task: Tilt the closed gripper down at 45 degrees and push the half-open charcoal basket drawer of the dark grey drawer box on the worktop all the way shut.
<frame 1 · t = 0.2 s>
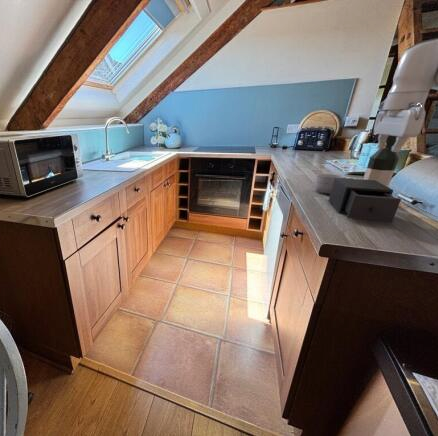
hand: (387, 149, 80), 22 cm above the countertop, tool pointing down, fingers open, 8 cm apart
dark grey drawer box: (353, 208, 91), on the countertop
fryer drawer: (366, 203, 82), point 5 cm above the countertop, slide at 6.0 cm
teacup: (330, 193, 110), on the countertop
wine bottle: (369, 198, 102), on the countertop
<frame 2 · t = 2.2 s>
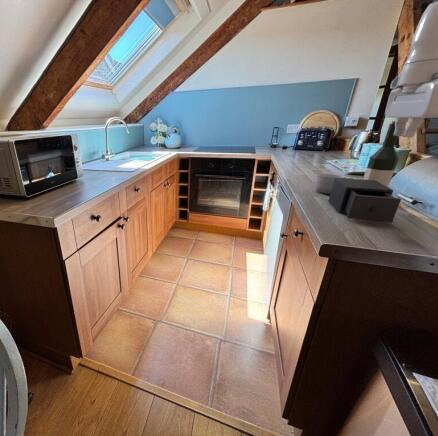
hand: (402, 136, 64), 27 cm above the countertop, tool pointing down, fingers open, 3 cm apart
nothing on the countertop moved.
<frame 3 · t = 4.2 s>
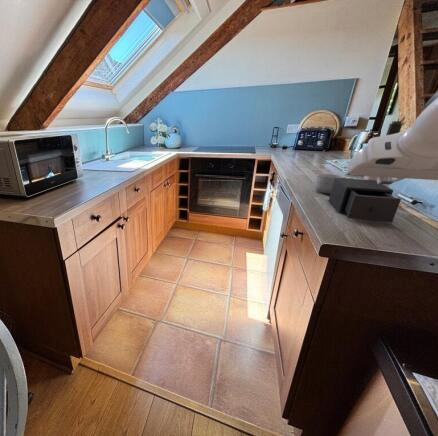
hand: (383, 182, 67), 15 cm above the countertop, tool tilted 45°, fingers closed
nothing on the countertop moved.
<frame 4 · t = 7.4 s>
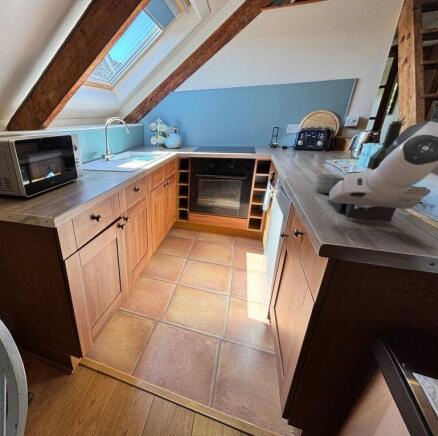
hand: (359, 207, 79), 5 cm above the countertop, tool tilted 45°, fingers closed, pressing on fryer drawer
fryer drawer: (365, 202, 83), point 5 cm above the countertop, slide at 5.1 cm, touching gripper
everything else where it was.
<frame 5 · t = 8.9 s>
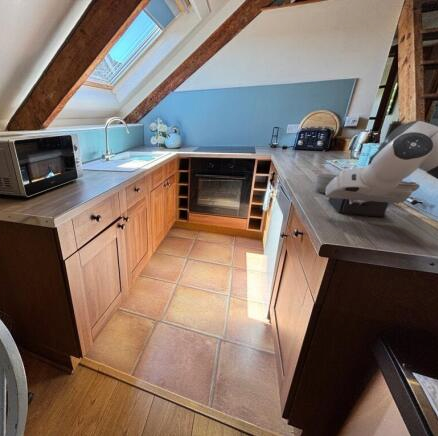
hand: (354, 202, 83), 5 cm above the countertop, tool tilted 45°, fingers closed, pressing on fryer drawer
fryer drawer: (359, 198, 87), point 5 cm above the countertop, slide at 0.0 cm, touching dark grey drawer box, gripper
everything else where it was.
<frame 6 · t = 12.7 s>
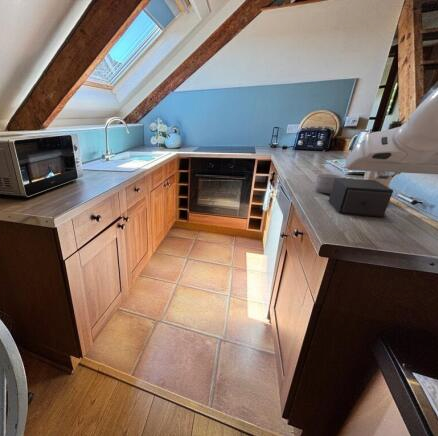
hand: (380, 176, 69), 16 cm above the countertop, tool tilted 45°, fingers closed
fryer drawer: (359, 198, 87), point 5 cm above the countertop, slide at 0.0 cm, touching dark grey drawer box
everything else where it was.
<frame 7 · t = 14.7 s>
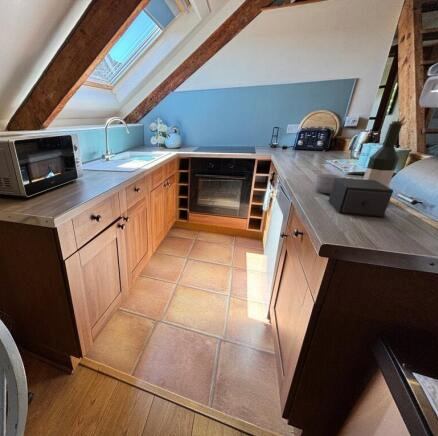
nothing on the countertop moved.
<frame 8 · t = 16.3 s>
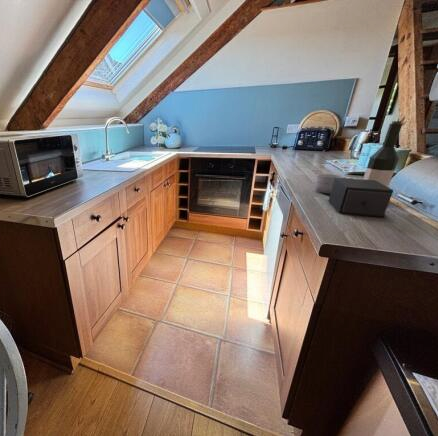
nothing on the countertop moved.
at the end: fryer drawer slide at 0.0 cm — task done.
